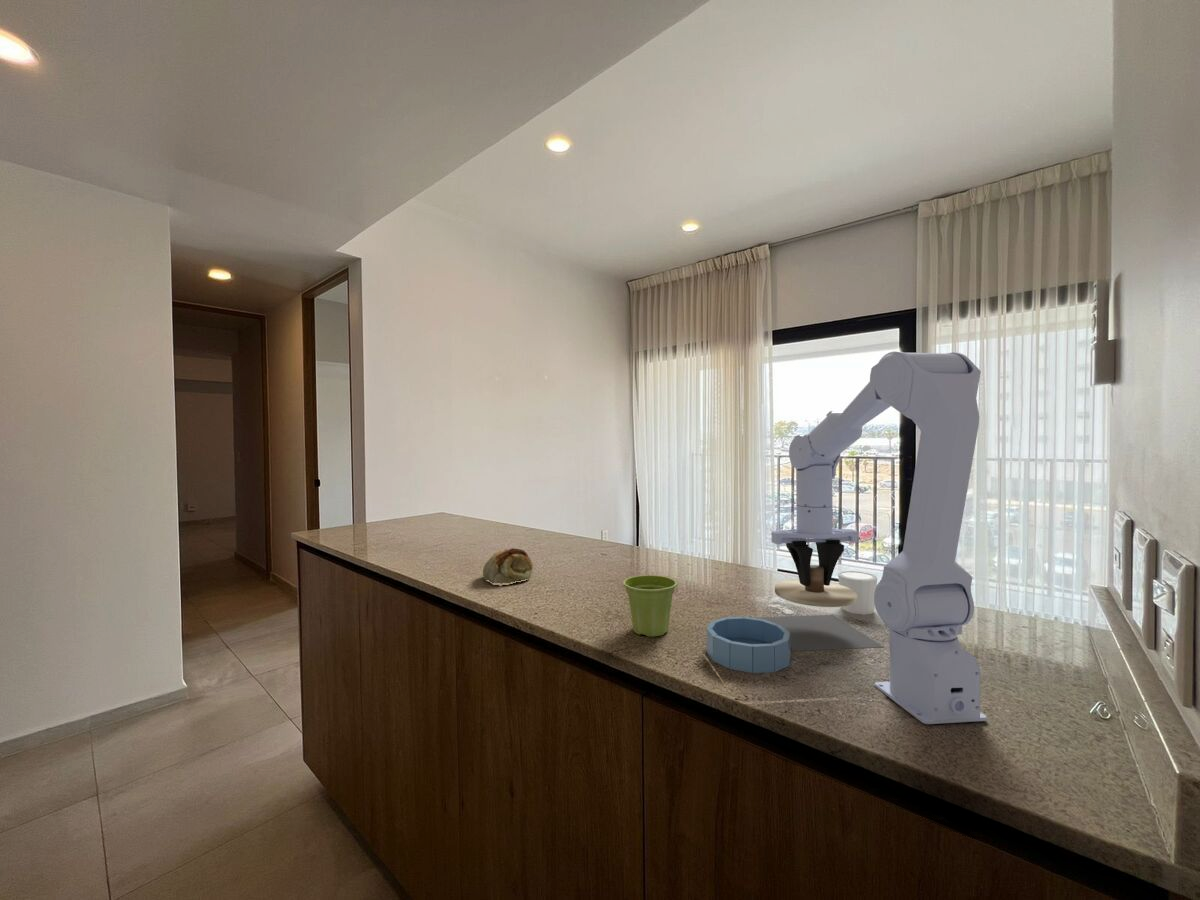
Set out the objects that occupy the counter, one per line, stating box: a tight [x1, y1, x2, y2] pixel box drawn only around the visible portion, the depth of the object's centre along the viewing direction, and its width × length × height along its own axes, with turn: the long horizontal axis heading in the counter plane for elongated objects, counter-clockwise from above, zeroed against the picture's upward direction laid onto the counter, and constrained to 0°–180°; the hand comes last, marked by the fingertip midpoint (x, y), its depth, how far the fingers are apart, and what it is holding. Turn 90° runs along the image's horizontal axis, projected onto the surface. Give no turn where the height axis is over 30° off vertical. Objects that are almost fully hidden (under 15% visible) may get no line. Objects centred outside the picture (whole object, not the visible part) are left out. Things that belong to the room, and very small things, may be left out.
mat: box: [756, 614, 885, 652], centre depth 86 cm, size 15×15×1 cm
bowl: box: [706, 616, 791, 674], centre depth 77 cm, size 12×12×4 cm
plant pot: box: [622, 574, 678, 638], centre depth 88 cm, size 9×9×9 cm
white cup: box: [837, 570, 878, 615], centre depth 97 cm, size 7×7×7 cm
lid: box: [774, 564, 857, 608], centre depth 86 cm, size 13×13×5 cm
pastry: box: [482, 547, 534, 584], centre depth 123 cm, size 14×12×8 cm
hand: (814, 584), depth 86 cm, fingers closed on lid, 3 cm apart
